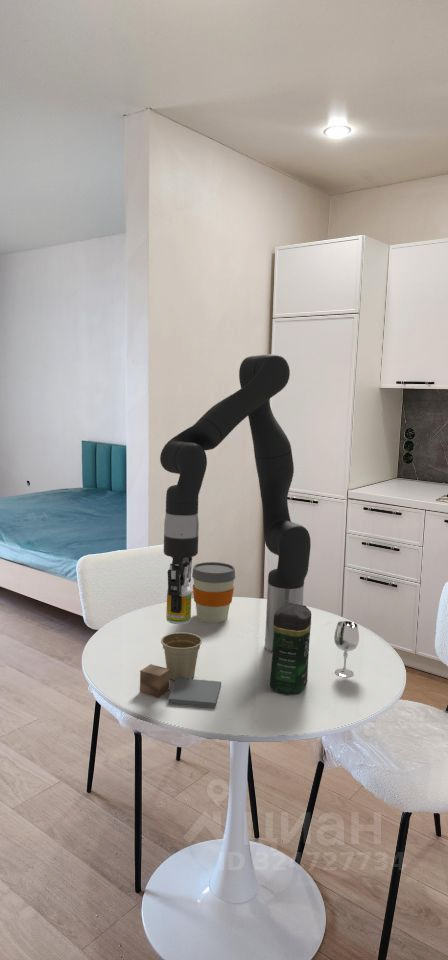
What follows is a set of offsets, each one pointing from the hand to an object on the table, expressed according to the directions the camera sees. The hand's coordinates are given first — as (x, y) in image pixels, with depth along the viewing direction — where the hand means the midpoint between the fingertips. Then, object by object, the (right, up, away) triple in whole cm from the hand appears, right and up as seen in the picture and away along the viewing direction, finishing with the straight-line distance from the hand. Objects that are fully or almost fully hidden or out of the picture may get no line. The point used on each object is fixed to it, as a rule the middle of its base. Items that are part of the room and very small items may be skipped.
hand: (179, 607), depth 140 cm
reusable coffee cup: (+6, -12, +45) cm, 47 cm away
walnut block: (-5, -18, -3) cm, 19 cm away
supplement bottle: (0, -3, 0) cm, 3 cm away
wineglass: (+39, -18, +11) cm, 44 cm away
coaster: (+4, -18, -4) cm, 19 cm away
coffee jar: (+24, -18, +2) cm, 31 cm away
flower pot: (0, -17, +6) cm, 18 cm away
